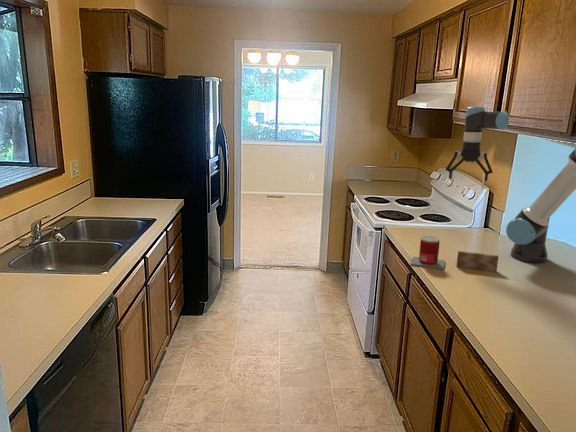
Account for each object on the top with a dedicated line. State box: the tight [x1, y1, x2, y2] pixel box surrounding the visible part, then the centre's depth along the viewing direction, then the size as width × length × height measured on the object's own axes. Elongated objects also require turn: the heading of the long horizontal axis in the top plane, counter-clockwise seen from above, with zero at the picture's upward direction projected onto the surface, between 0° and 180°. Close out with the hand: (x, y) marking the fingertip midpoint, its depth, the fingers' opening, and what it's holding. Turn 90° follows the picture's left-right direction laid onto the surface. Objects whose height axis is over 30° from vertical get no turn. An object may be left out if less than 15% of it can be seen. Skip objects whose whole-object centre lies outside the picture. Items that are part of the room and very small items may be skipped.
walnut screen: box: [456, 250, 499, 273], centre depth 188 cm, size 16×2×7 cm, turn 68°
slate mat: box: [410, 256, 446, 270], centre depth 195 cm, size 14×10×1 cm
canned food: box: [418, 235, 441, 265], centre depth 194 cm, size 8×8×11 cm
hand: (466, 186), depth 205 cm, fingers open, 13 cm apart
